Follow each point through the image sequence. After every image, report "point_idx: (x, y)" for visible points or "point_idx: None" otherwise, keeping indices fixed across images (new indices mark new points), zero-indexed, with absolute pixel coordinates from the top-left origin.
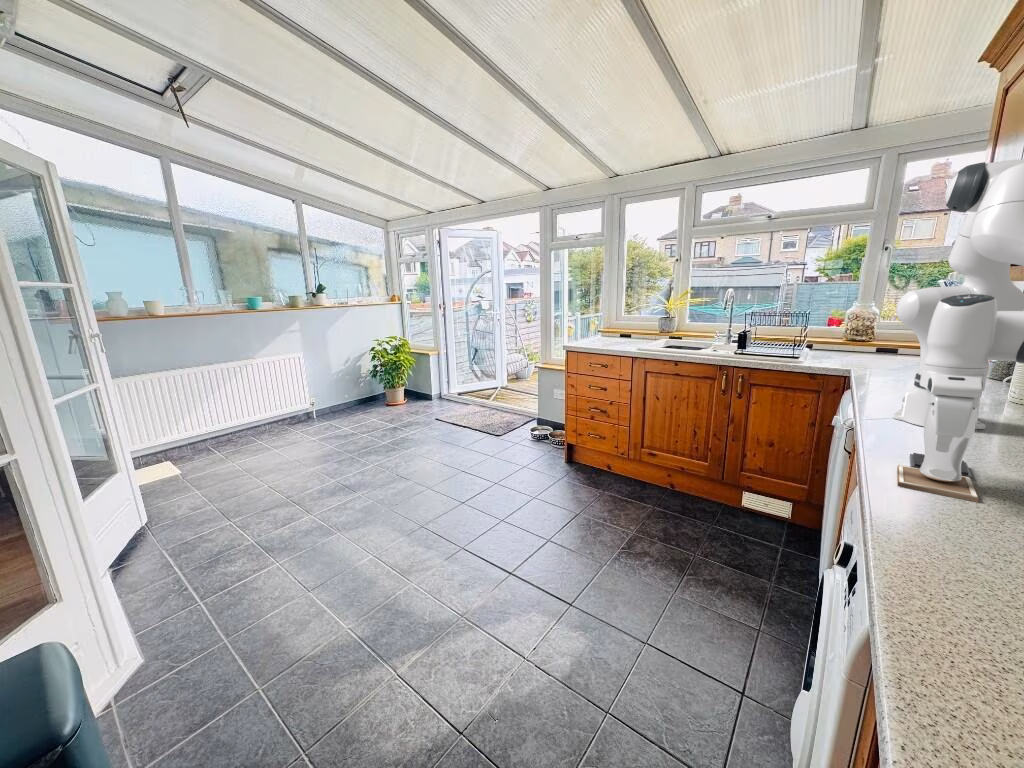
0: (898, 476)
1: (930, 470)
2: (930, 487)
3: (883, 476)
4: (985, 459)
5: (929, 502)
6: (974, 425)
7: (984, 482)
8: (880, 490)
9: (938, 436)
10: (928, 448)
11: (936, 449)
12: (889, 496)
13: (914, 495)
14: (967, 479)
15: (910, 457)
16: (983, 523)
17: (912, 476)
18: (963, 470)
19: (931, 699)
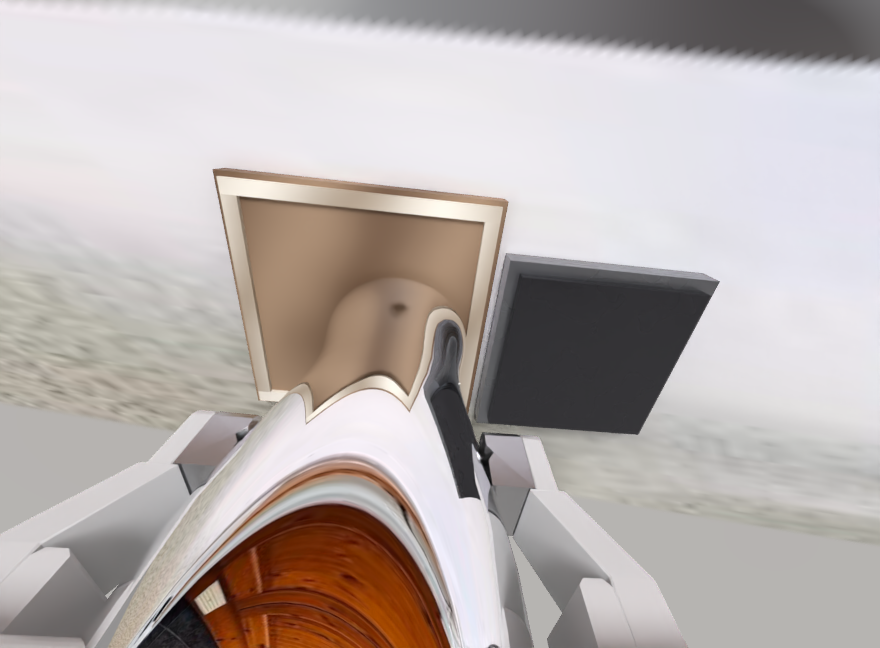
0: (316, 183)
1: (334, 319)
2: (238, 289)
3: (336, 115)
4: (728, 474)
5: (128, 263)
6: None
7: None
8: (88, 73)
9: (10, 536)
10: (312, 374)
11: (191, 415)
12: (40, 111)
13: (162, 222)
14: None
15: (655, 274)
16: (82, 370)
17: (359, 244)
18: (510, 415)
19: None
